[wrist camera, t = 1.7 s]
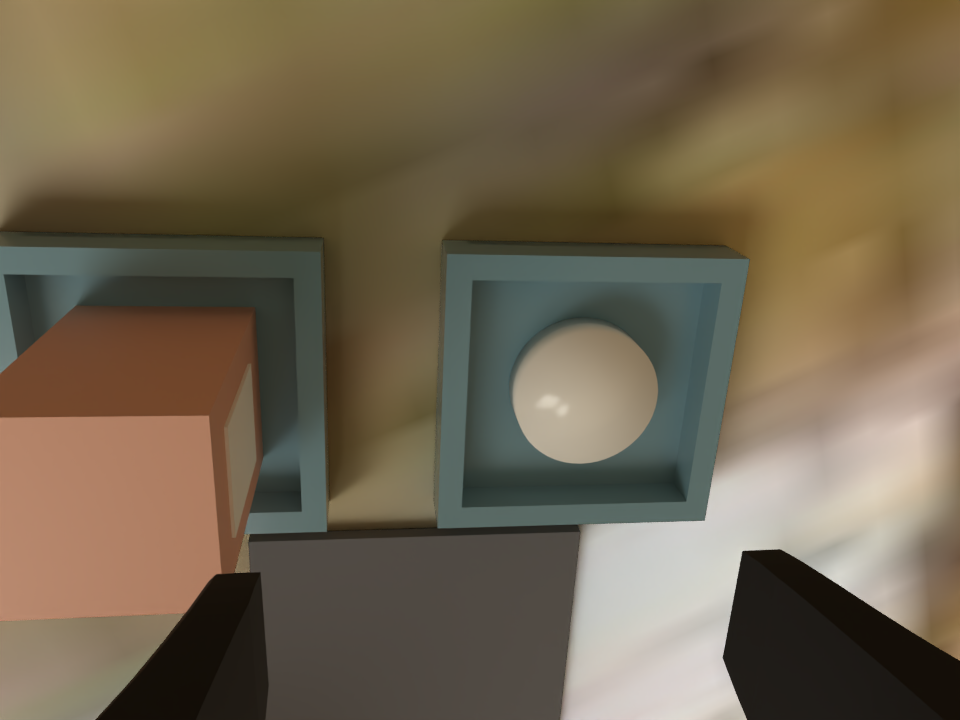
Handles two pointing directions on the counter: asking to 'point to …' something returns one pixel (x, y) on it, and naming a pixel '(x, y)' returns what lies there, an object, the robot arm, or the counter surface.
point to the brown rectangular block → (127, 460)
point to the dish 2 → (564, 295)
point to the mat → (417, 622)
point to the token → (582, 390)
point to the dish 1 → (202, 283)
